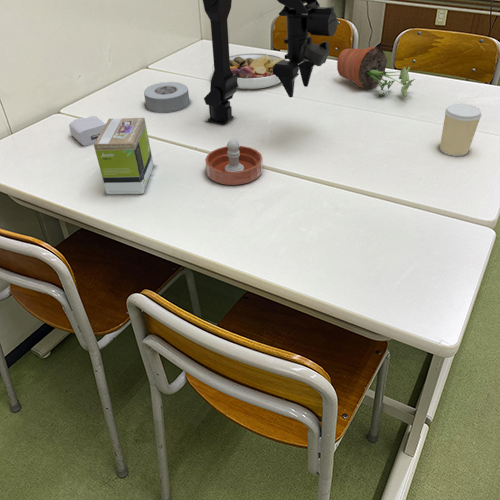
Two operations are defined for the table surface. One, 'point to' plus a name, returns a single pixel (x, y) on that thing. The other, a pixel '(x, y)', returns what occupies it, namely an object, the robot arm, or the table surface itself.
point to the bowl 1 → (254, 70)
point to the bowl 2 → (251, 171)
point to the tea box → (124, 155)
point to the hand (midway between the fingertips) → (298, 91)
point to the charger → (86, 129)
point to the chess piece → (233, 157)
